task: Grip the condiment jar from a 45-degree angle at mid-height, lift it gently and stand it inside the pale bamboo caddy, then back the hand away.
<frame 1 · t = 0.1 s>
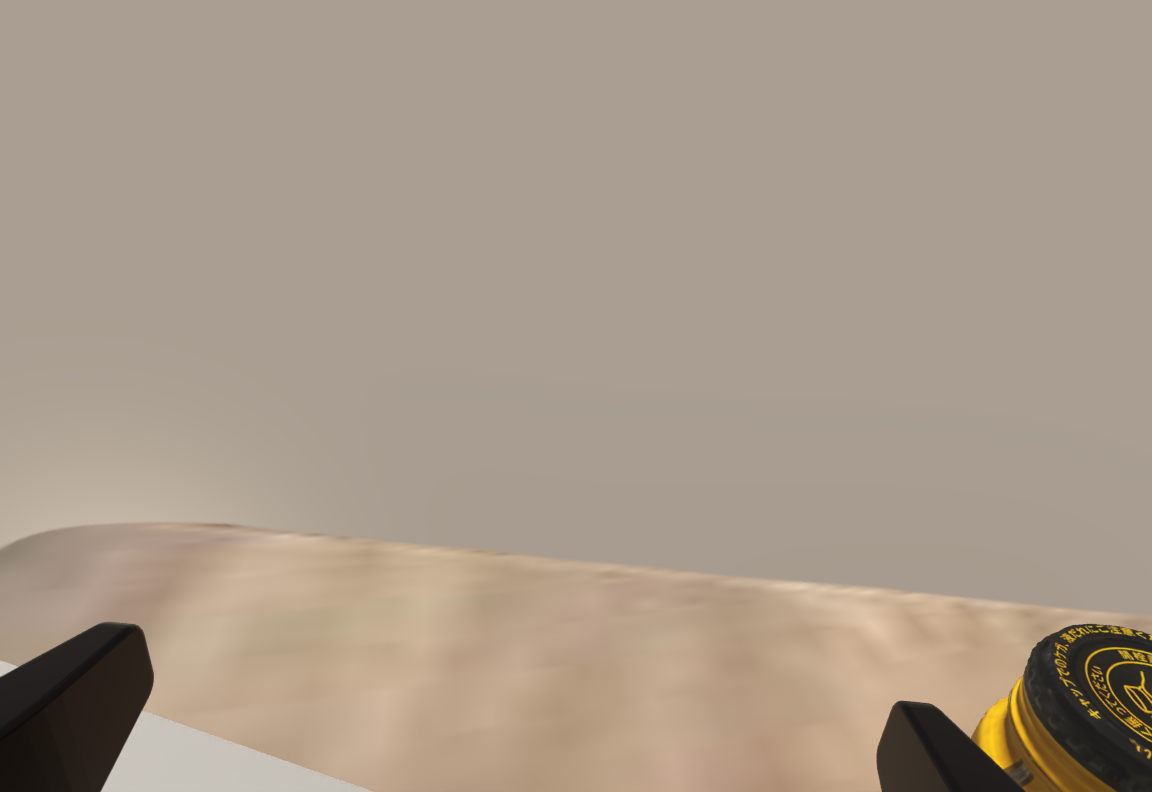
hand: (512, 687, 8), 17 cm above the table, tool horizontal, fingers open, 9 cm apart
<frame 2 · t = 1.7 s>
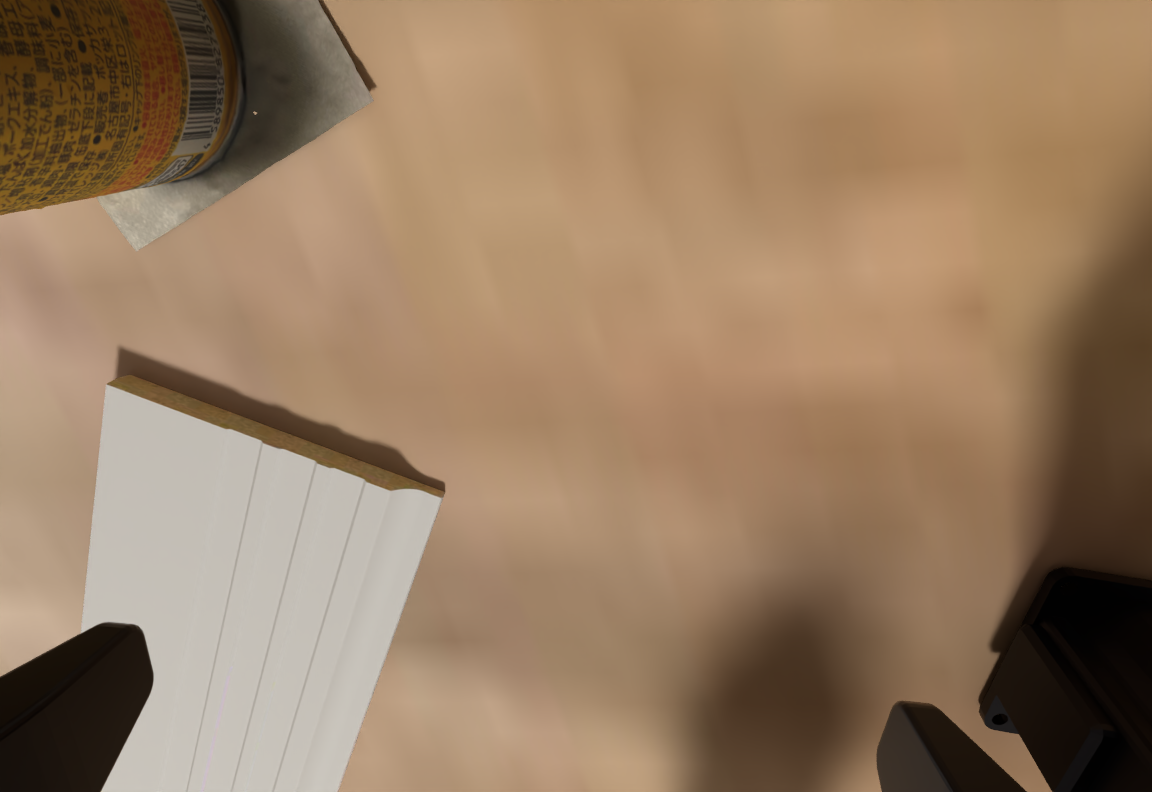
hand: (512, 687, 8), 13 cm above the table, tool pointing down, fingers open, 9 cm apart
baseboard molding: (242, 737, 29), on the table
condiment: (170, 48, 18), on the table
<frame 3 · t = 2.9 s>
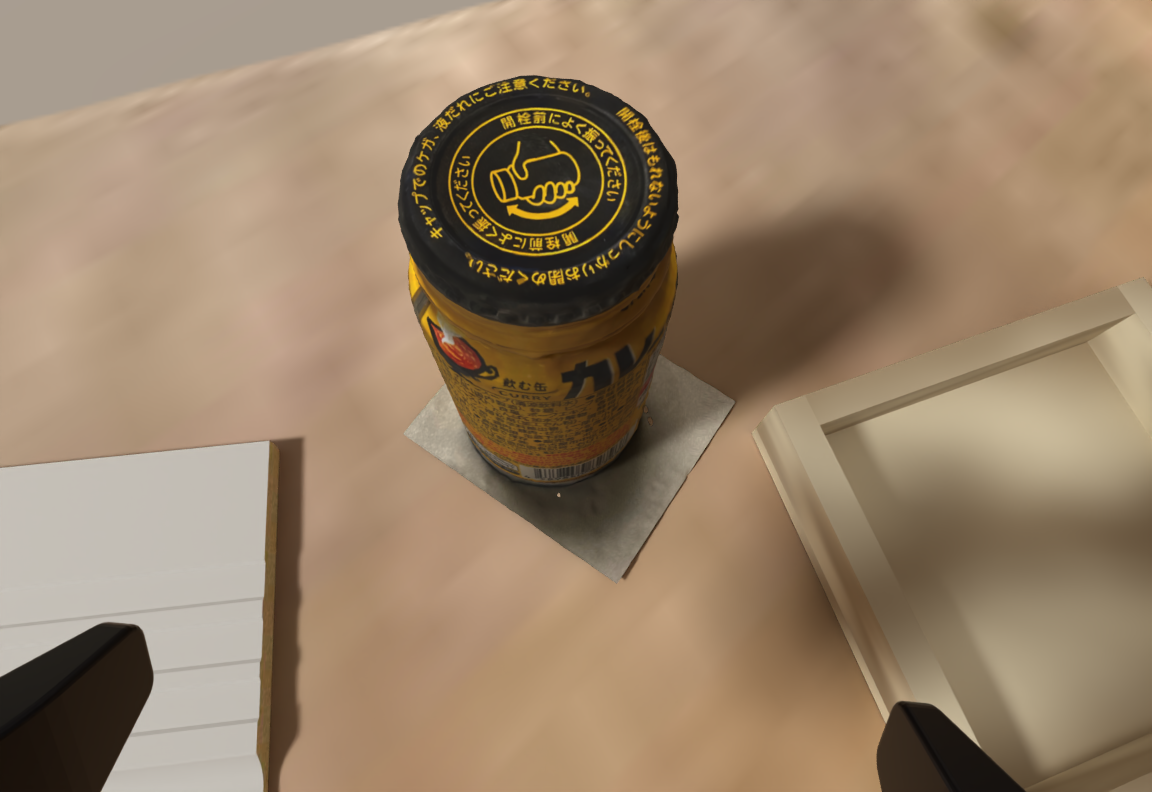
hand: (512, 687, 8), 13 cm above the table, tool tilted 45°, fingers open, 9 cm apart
caddy: (1024, 552, 22), on the table
condiment: (571, 421, 24), on the table
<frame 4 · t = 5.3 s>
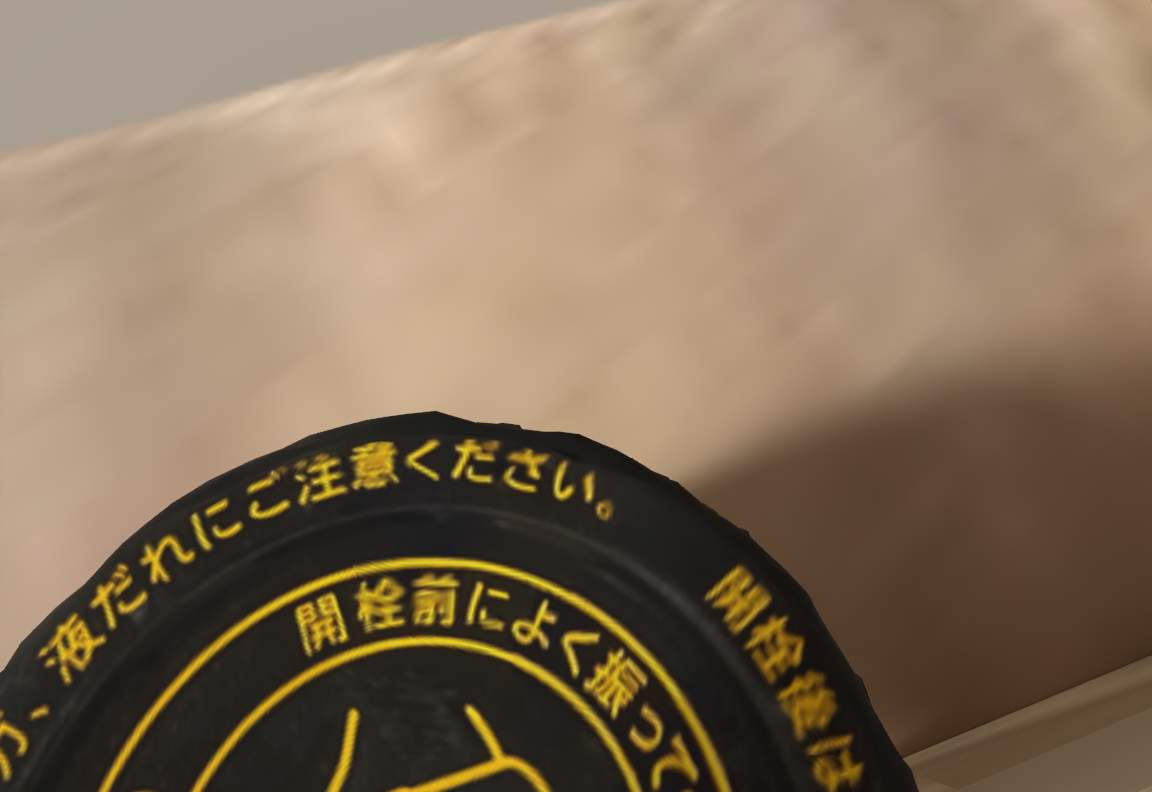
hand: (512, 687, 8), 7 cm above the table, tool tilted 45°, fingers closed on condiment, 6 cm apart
condiment: (561, 751, 14), on the table, touching gripper
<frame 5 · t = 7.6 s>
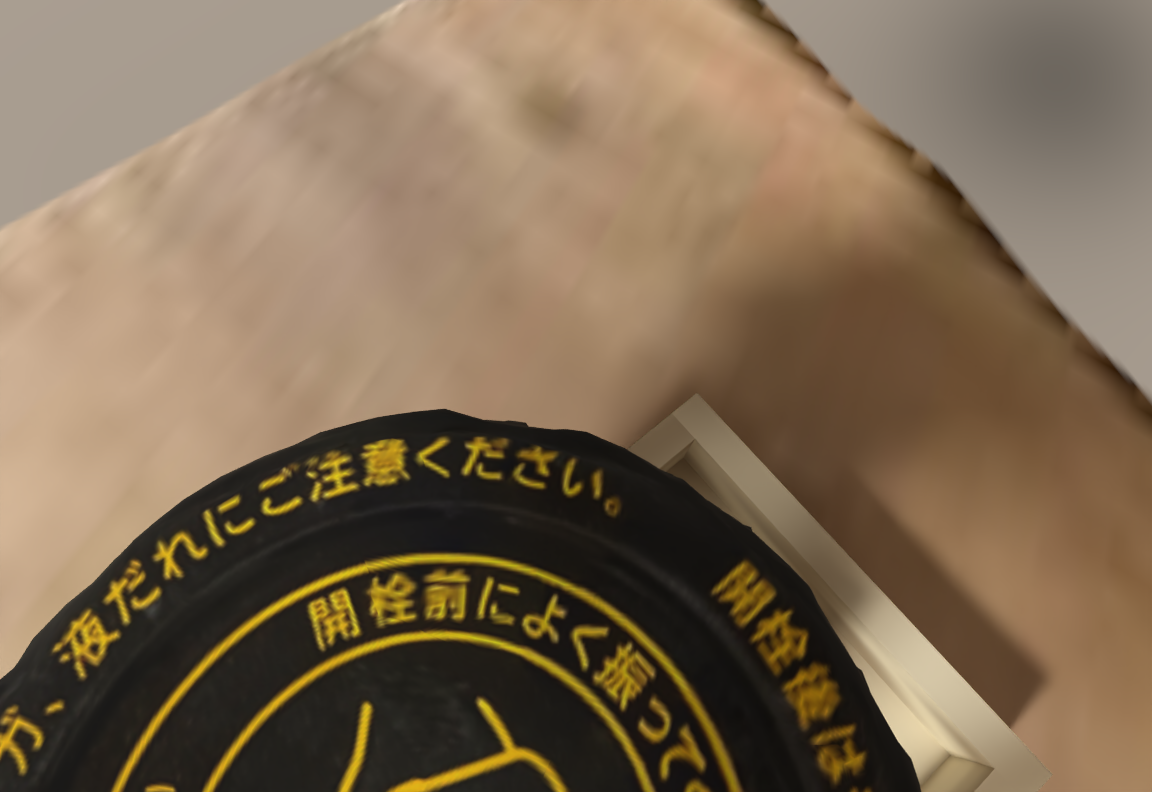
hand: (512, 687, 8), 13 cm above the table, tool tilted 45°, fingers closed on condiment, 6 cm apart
caddy: (667, 723, 20), on the table
condiment: (554, 746, 14), point 6 cm above the table, touching gripper
when the fingers open (8 cm above the table, at t = 9.6 s): condiment stays where it is, resting on caddy.
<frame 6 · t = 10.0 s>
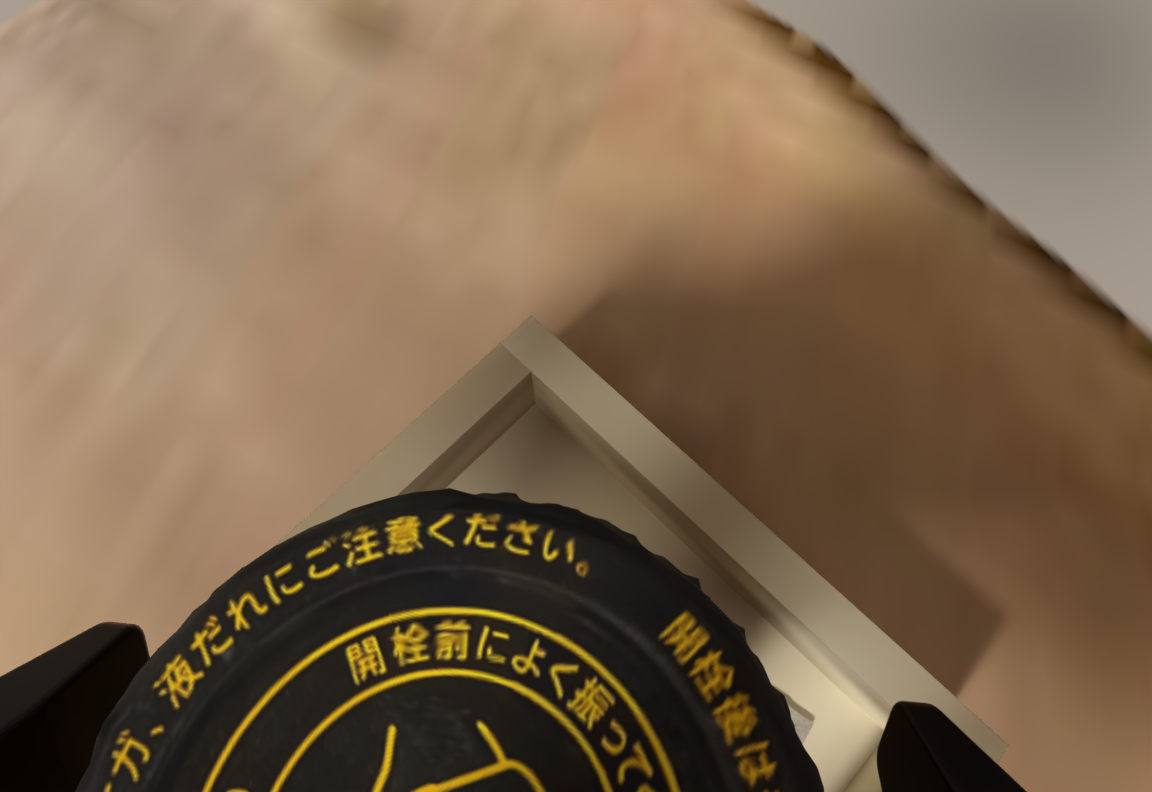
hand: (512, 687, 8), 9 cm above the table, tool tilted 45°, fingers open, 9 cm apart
caddy: (534, 735, 16), on the table
condiment: (560, 751, 16), resting on caddy
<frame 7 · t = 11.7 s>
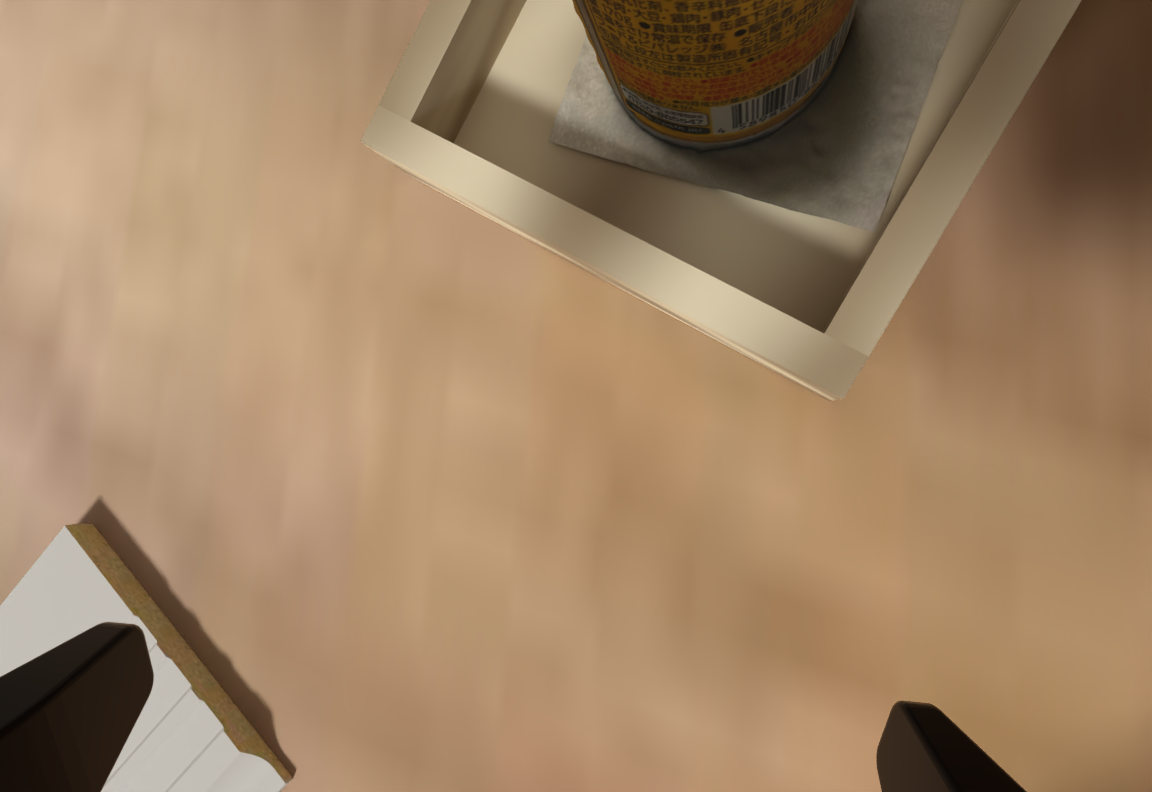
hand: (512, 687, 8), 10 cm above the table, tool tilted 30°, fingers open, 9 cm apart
caddy: (727, 57, 18), on the table
condiment: (753, 51, 18), resting on caddy
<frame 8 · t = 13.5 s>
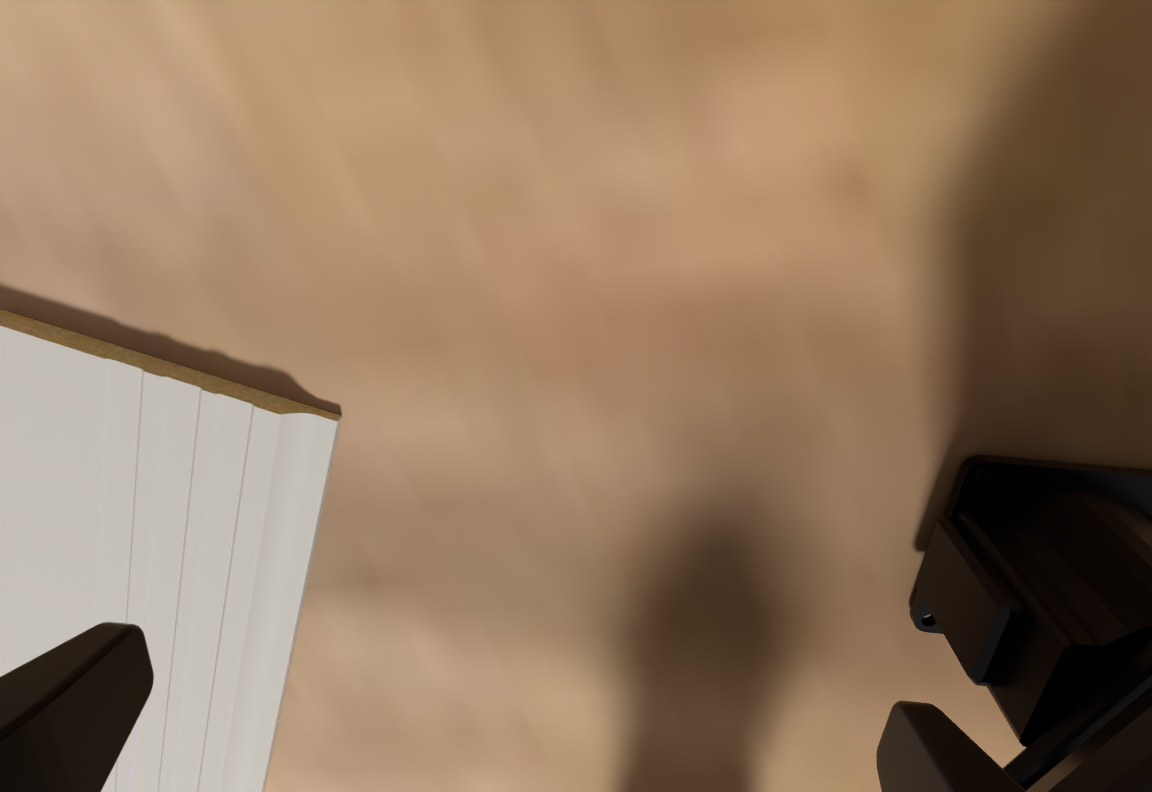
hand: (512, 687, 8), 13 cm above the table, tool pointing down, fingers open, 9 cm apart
baseboard molding: (173, 694, 29), on the table
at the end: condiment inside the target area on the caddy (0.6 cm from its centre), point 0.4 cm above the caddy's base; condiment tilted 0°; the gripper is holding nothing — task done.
